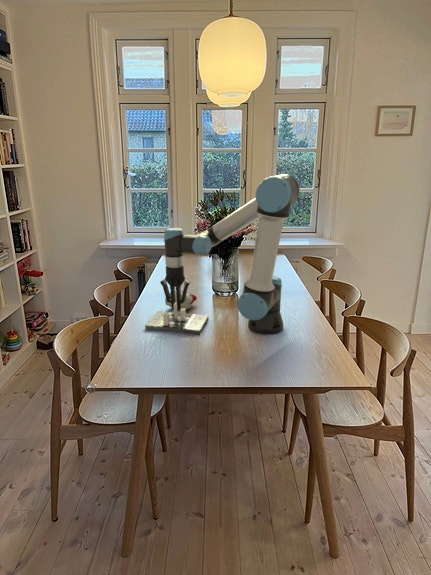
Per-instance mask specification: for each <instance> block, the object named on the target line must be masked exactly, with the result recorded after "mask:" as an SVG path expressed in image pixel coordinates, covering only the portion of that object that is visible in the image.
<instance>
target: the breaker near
mask: <svg viewBox="0 0 431 575" xmlns="http://www.w3.org/2000/svg"><path fill="white" fill-rule="evenodd" d="M163 320H164V325H167V326H168V325H169V323H170V321H169V313H164V314H163Z"/></svg>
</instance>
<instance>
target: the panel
mask: <svg viewBox="0 0 431 575" xmlns="http://www.w3.org/2000/svg"><path fill="white" fill-rule="evenodd" d="M164 313H169V321H170V323H169V325H168V326H167V325H164V320H163V314H164ZM209 319H210V318H209V315H207V314H196V313H195V314H194V313H186V319H185V321H180V312H179V317H178V319H175V318H174V314H172V311H170V312H169V311H159V310H158V311H157V312H156V313H155V314H154V315H153V316H152V317H151V318H150V319H149V320H148V321H147V322H146V324H145V325H144V330H145V331H155V332H165V333H166V332H167V333H174V334H175V333H176V334H177V333H179V334H185V335H186V334H187V335H198V336H200V335H201V333H202V331H203V330H204V328H205V327H206V324H207V323H208V322H209Z"/></svg>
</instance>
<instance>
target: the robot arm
mask: <svg viewBox="0 0 431 575" xmlns="http://www.w3.org/2000/svg"><path fill="white" fill-rule="evenodd" d="M299 194H300V184H299V182H298V180H297V178H295V177H294V176H292V175H291V174H287V173H281V174H276V175H275V174H274V175H270V176H268V177H266V178H264V179H263V180H261V181H260V183H259V184H258V185H257V188H256V190H255V197H254V198H253V199H251V200H249V202H247V203H245V204H244V205H242V206H241V207H239V208H237V209H236V210H235V211H233V212H232V213H230V214H229V215H227V216H225V217H224V218H222V219H221V220H219V221H217V223H215V224H214V225H212V226H210V227H208V228H207V229H205V230H203V231H202V232H199V233H196V234H186V233H185V234H184V231H183V229H182V228H180V227H169V228H166V229H165V230H164V236H163V237H164V239H163V241H164V253H165V254H164V255H165V256H164V257H165V258H164V259H165V260H164V261H165V265H166V266H165V278H164V279H162V280H160V282H159V283H160V285H161V287H162V288H163V292H164V296H165V299H167V302H170V303H171V305H172V308H171V312H172V311H174V318H175V319H178V317H179V313H180V310H181V303H184V301H185V298H186V294H187V292H188V290H189V289H188V288H189V286H190V284H191V281H190V280H187V279H186V277H185V266H184V254H191V255H196V256H206V255H208V254H210V252H211V250H212V248H213V247H216V246H217V245H219V244H220V243H221V242H223V241H224V240H226V239H227V238H229V237H230V236H231V237H232V235H234V234H236V233H238V232H239V231H240V230H242V229H244V228H245V227H247V226H249V225H250V224H252V223H254V222H255V221H258V220H259V221H258V227H257V230H256V238H255V243H254V248H253V255H252V260H251V265H250V266H251V268H250V272H249V278H247V279H246V280H244V283H243V284H244V285H243V289H242V294H240V296H239V297H238V299H237V305H236V306H237V310H238V312H239V313H240V314H241V316H243V317H244V318H245V319H247V320H248V321H247V328H248V329H249V331H251V332H252V333H255V334H259V335H264V336H265V335H268V336H269V335H276V334H279V333H281V332H282V331H283V330H284V322H283V321H284V320H283V318H282V314H281V313H282V312H281V300H282V286H283V285H282V283H283V282H282V279H281V277H279V276H275V275H274V271H275V267H276V262H277V256H278V250H279V247H280V242H281V237H282V230H283V226H284V222H285V221H286V220H287V219H289V218H290V213H291V209H292V204H294V203H295V202H296V201H297V199H298V197H299ZM168 285H169V286H168ZM182 285H184V287H183V289H181V288H182ZM169 289H170V290H169ZM181 290H183V294H182V299H181V292H182V291H181ZM175 291H176V295H177V302H175ZM170 293H171V296H170Z"/></svg>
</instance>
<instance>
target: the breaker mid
mask: <svg viewBox="0 0 431 575" xmlns="http://www.w3.org/2000/svg"><path fill="white" fill-rule="evenodd" d="M186 310H187V309H186ZM186 310H185V309H184V308H181V310H180V311H179V313H180V321H185V319H186V314H187V313H186Z"/></svg>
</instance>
